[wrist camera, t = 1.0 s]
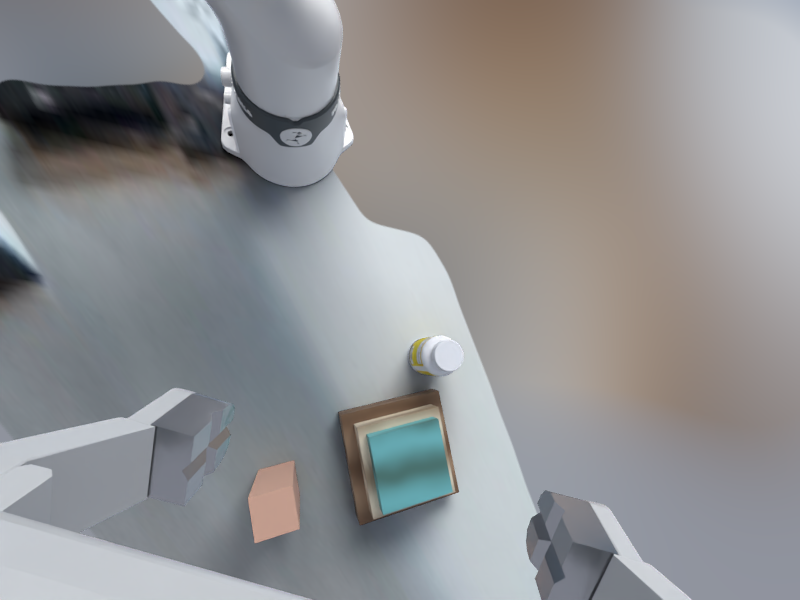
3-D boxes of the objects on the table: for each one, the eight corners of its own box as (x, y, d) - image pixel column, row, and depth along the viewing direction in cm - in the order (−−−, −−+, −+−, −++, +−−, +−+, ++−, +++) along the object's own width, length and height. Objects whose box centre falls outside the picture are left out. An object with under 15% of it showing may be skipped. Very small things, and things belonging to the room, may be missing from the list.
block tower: (338, 411, 52) (344, 421, 44) (431, 388, 55) (452, 394, 48) (356, 515, 50) (366, 544, 43) (450, 484, 54) (475, 506, 47)
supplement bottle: (448, 359, 57) (477, 359, 47) (421, 381, 55) (446, 387, 46) (427, 330, 57) (452, 325, 47) (400, 352, 55) (420, 352, 46)
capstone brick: (258, 469, 48) (247, 498, 39) (294, 460, 49) (292, 485, 40) (263, 505, 48) (254, 543, 38) (299, 494, 49) (299, 528, 39)
